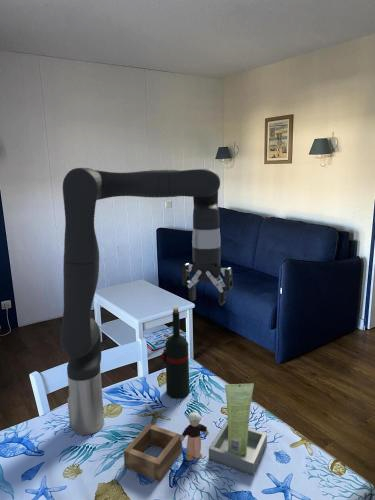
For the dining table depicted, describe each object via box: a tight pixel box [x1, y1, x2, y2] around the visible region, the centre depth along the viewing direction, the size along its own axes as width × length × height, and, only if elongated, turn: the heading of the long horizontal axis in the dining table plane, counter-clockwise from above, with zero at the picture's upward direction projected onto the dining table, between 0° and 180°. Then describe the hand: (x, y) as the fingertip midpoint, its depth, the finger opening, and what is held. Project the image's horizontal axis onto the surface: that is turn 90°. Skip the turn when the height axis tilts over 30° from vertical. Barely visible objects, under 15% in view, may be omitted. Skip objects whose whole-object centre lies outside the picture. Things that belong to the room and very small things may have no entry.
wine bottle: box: [159, 307, 191, 400], centre depth 126 cm, size 8×10×30 cm
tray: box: [208, 420, 268, 477], centre depth 100 cm, size 12×12×4 cm
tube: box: [224, 383, 255, 456], centre depth 99 cm, size 6×5×20 cm
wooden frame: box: [123, 423, 183, 483], centre depth 98 cm, size 10×12×5 cm
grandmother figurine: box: [180, 411, 210, 462], centre depth 99 cm, size 8×4×13 cm, turn 117°
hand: (207, 302), depth 104 cm, fingers open, 8 cm apart
